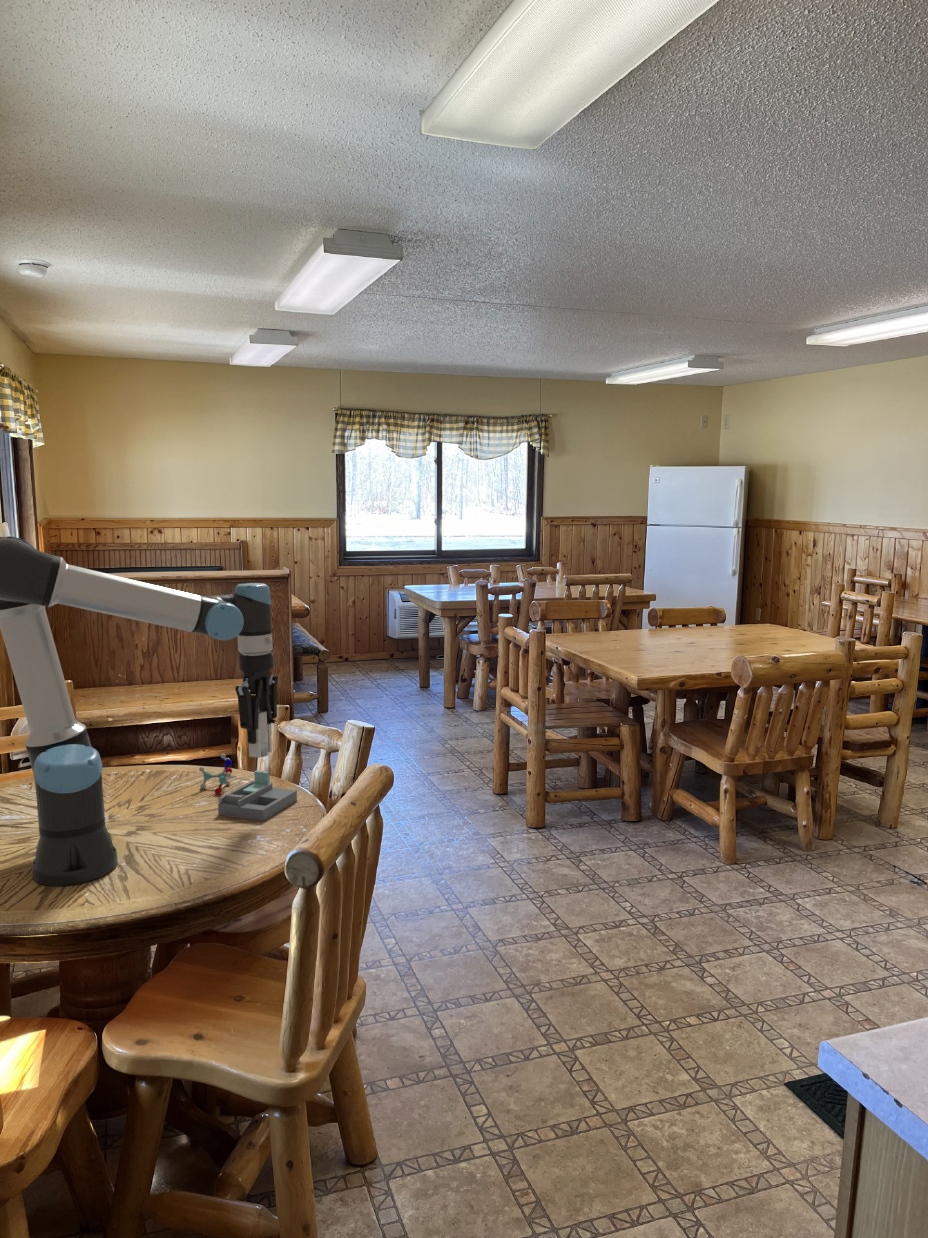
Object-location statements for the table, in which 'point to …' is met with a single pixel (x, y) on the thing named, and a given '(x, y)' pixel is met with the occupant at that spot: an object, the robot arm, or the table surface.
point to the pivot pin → (263, 732)
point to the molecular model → (221, 776)
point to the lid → (258, 781)
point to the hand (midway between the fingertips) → (260, 753)
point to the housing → (256, 802)
